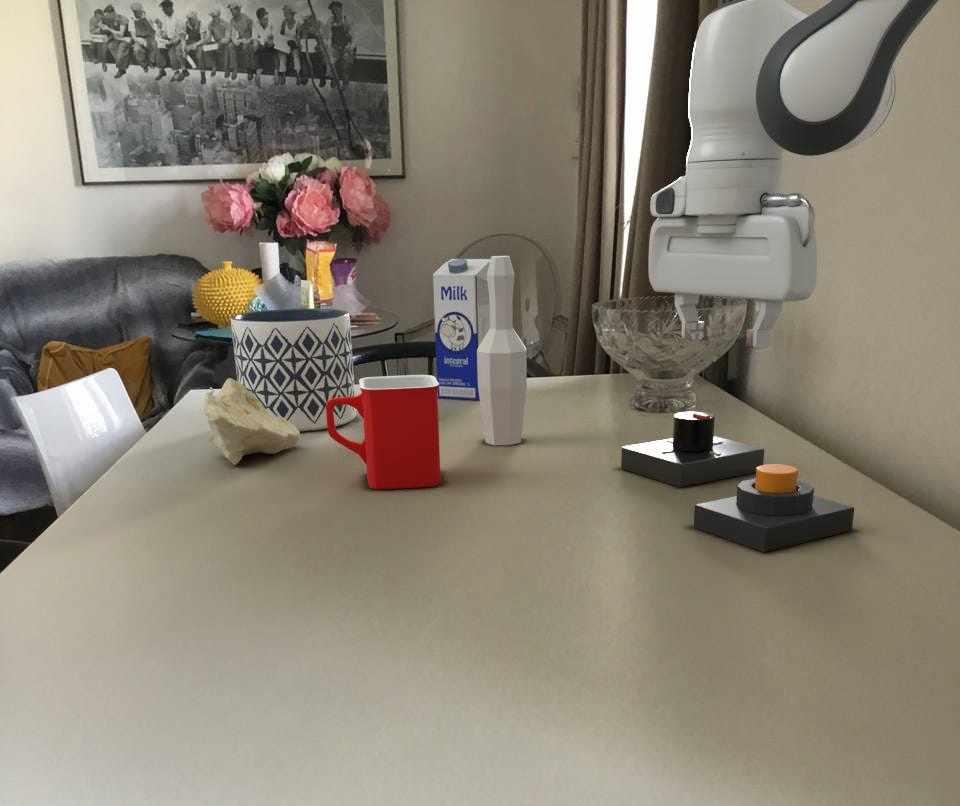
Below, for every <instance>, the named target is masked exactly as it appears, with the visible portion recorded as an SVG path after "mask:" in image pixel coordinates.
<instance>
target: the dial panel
mask: <svg viewBox="0 0 960 806" xmlns="http://www.w3.org/2000/svg"><path fill="white" fill-rule="evenodd" d="M672 445H673V437H672V438H668V439H661V440H655V441H649V442H643V443H637V444H631V445H625V446H622V447H621V458H620V459H621V460H620V461H621V462H620V470H624V471H627V472H631V473H634V474H637V475H640V476H643V477H647V478H649V479H653V480H656V481H659V482H663V483H665V484H668V485H672V486H675V487H678V488H684V487H688V486H689V487H690V486H693V485H699V484H703V483H708V482H714V481H718V480H724V479H728V478H734V477H738V476H739V477H740V476H744V475H750V474H753V473H756V470H757V467H758V466H761V465H764V460H765V448H764V447H759V446H755V445H751V444H747V443H744V442H743V443H742V442H738V441H735V440H731V439H727V438H724V437H723V438H722V437H719V436H715V435H714V437H713V448H712V449H710V450H707V451H700V452H689V451H681V450H677V449H674V448H673V447H672Z"/></svg>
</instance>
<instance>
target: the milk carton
mask: <svg viewBox="0 0 960 806" xmlns="http://www.w3.org/2000/svg"><path fill="white" fill-rule="evenodd" d="M490 260H491V258H450V259H449V260H448V261H446V262H444V263H443V264H442V265H441V266H440V267H439V268H438V269H437V270H436V271H434V272H433V273H432V274H431V275H432V283H433V311H434V335H435V336H434V337H435V358H436V359H435V363H436V365H435V366H436V380H437V381H438V383H439V388H438V393H437V395H438V399H452V400H467V401H469V400H470V401H480V398H479V391H478V371H477V349H478V347H479V345H480V344H481V342H482V341H483V339H484V337H485V336H486V334H487V332H488V331H489V329H490V300H489V291H488V281H487V273H488V268H489V264H490Z"/></svg>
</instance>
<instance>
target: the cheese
mask: <svg viewBox="0 0 960 806" xmlns="http://www.w3.org/2000/svg"><path fill="white" fill-rule="evenodd" d="M209 390H210V391H207V392H206V393H205V400H204V407H203V409H204V414H205V416H207V423H208V425H209V434H208V441H209V442H210V444H212V445H213V447H214V448H216V449H218V450H219V452H221V453H222V454H223V455H224V458H226V459H227V460H228V462H230V463H232V465H233V466H236V465H238V464H239V462H240V461H241V460H242V458H243V456H245V455H247V456H248V455H251V454H258V453H263V454H272V455H276V454H278V453H279V452H281V451H283V450H287V449H291V448H293V447H294V446H296V445H297V444H298V442H299V440H300V436H301V435H300V434H301V433H300V431H298V429H297V428H296V427H295V426H294V425H293V424H292V423H290V422H288V421H287V420H286V419H285V418H283V417H280V418H279V417H278V416H275V417H271V416H270V415H269V414H268V412H267V410H266V409H265V408H264V406H263V405H262V403H261V402H260V401H259V399H258V398H257V397H256V396H255V395H254V394H253V393H252V392H251V391H248V390H247V389H246V388H245V387H244V385H243V384H241V383H239V382H237V379H236V380H235V379H233V378H232V377H229V378H227V379H226V380H225V382H224V383H223V384H222V387H221V389H219V390H220V391H219V392H218V393H217V394H216V395H214V393H215V389H213V387H212V386H210V387H209Z"/></svg>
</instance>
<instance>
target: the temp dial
mask: <svg viewBox="0 0 960 806" xmlns="http://www.w3.org/2000/svg"><path fill="white" fill-rule="evenodd" d="M715 420H716V416H715V414H712V413H709V412H704V411H703V412H702V411H684V412H683V411H682V412H677V413H675V414H674V415H673V425H672V438H673V445H672V447H673V448H674V449H677V450H681V451H689V452H700V451H707V450H710V449H712V448H713V437H714V436H715V435H714V434H715V423H716V422H715Z"/></svg>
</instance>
